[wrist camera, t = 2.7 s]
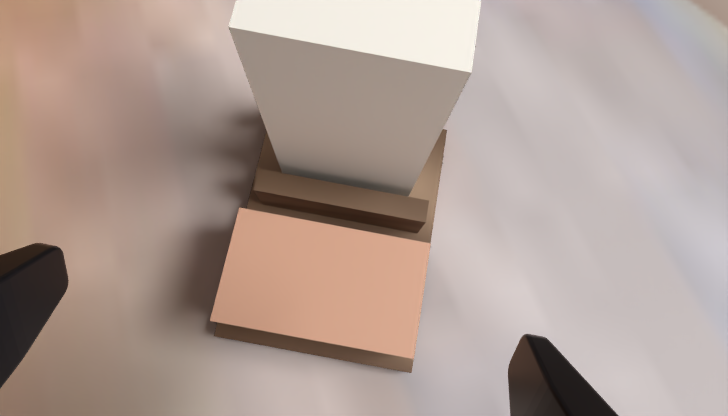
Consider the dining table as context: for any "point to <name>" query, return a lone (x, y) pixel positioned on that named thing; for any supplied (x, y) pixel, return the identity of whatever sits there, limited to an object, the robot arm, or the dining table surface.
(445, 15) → the tall white pillar
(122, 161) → the dining table surface
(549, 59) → the dining table surface
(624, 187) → the dining table surface
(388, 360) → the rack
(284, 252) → the offcut top
